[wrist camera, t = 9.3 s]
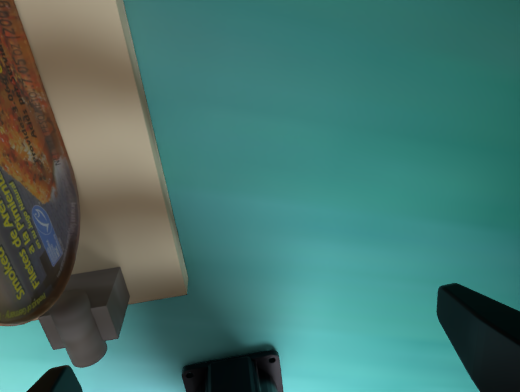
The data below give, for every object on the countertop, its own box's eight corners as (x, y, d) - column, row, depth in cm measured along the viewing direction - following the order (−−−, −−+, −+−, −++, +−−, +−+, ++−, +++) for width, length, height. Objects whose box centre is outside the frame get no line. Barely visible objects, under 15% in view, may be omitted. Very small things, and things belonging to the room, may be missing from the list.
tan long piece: (188, 279, 22) (183, 349, 17) (32, 305, 22) (-18, 385, 17) (44, -335, 12) (-67, -578, 7) (-265, -320, 11) (-617, -576, 6)
